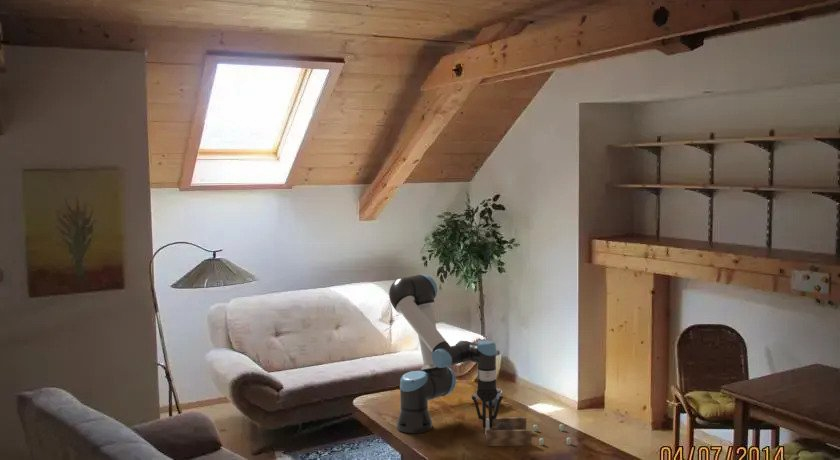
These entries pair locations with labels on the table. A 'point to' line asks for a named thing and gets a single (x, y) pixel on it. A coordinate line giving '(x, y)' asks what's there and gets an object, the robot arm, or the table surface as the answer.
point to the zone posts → (541, 440)
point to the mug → (495, 398)
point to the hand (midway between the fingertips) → (487, 434)
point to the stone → (503, 426)
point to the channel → (509, 433)
